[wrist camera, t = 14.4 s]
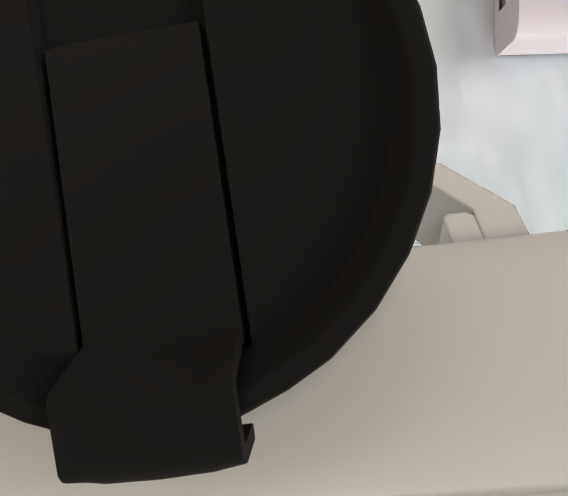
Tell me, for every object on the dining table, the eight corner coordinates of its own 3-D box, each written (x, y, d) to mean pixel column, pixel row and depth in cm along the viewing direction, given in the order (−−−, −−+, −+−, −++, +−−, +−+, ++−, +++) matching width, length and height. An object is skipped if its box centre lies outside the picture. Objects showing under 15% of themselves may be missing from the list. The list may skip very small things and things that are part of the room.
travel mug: (225, 282, 24) (-176, 534, 5) (205, 150, 24) (-310, -200, 4) (350, 265, 24) (519, 458, 4) (331, 130, 24) (410, -366, 4)
